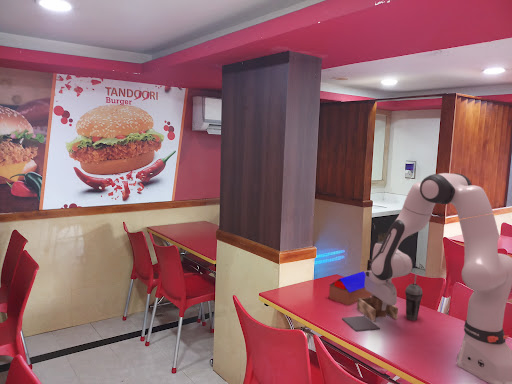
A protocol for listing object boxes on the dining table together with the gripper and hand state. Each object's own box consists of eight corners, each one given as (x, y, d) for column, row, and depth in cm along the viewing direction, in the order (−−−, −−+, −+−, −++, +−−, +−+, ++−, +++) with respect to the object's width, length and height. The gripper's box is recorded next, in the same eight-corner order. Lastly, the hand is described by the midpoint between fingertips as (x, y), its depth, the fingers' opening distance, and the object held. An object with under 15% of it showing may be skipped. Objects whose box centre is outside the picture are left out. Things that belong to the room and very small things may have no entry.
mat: (379, 329, 171) (379, 327, 171) (356, 331, 168) (356, 330, 168) (364, 317, 183) (364, 315, 183) (341, 319, 180) (342, 317, 180)
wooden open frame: (397, 318, 182) (398, 308, 182) (373, 321, 179) (373, 310, 178) (379, 306, 195) (380, 296, 195) (357, 308, 192) (357, 298, 191)
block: (386, 316, 184) (387, 299, 183) (376, 317, 183) (377, 300, 182) (379, 312, 189) (381, 295, 188) (370, 313, 188) (371, 295, 187)
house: (372, 297, 208) (374, 274, 207) (348, 306, 195) (350, 282, 193) (352, 289, 217) (353, 268, 216) (327, 298, 204) (329, 275, 202)
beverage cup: (401, 319, 182) (405, 275, 180) (404, 313, 189) (408, 270, 186) (419, 323, 179) (423, 278, 177) (421, 317, 185) (425, 273, 183)
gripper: (401, 284, 175) (399, 316, 177) (375, 269, 194) (372, 298, 196) (388, 285, 173) (386, 317, 175) (363, 270, 192) (360, 299, 194)
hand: (378, 307), depth 186 cm, fingers closed on block, 5 cm apart
